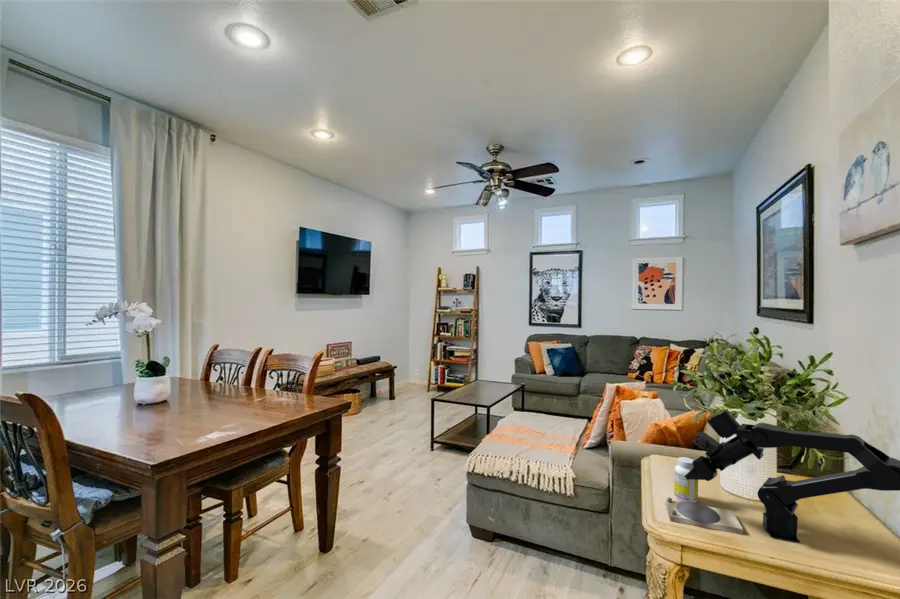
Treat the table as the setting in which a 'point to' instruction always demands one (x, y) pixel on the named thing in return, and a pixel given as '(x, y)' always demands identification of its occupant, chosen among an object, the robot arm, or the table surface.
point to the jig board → (702, 516)
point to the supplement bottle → (685, 481)
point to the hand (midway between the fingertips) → (691, 473)
